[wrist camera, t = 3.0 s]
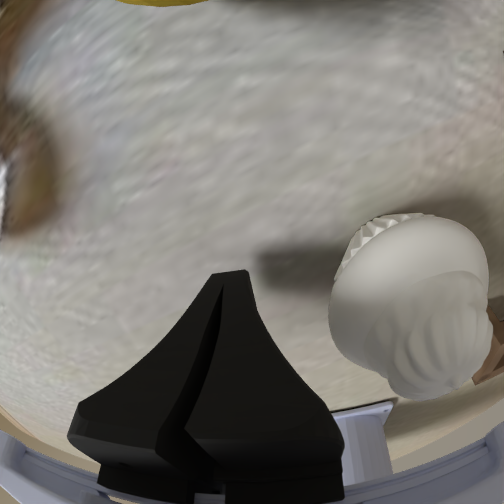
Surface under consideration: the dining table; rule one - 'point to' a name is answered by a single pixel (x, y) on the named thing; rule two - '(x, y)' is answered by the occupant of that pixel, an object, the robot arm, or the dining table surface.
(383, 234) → the muffin
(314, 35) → the dining table surface
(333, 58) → the dining table surface
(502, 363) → the brown wooden u-shaped frame
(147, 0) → the lemon
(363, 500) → the robot arm
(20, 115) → the dining table surface
